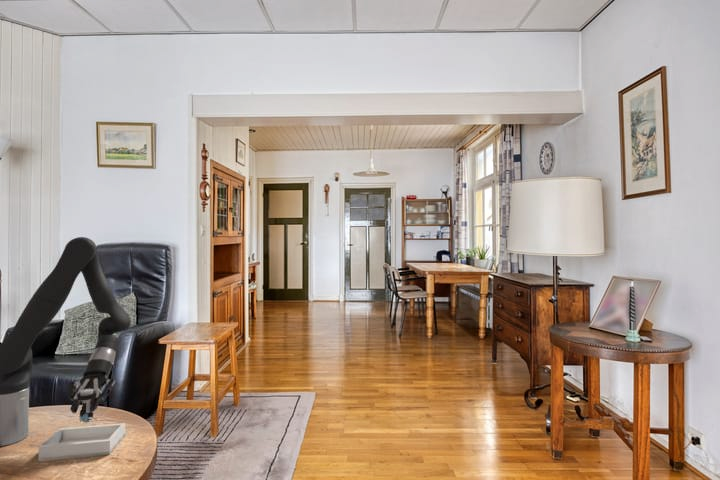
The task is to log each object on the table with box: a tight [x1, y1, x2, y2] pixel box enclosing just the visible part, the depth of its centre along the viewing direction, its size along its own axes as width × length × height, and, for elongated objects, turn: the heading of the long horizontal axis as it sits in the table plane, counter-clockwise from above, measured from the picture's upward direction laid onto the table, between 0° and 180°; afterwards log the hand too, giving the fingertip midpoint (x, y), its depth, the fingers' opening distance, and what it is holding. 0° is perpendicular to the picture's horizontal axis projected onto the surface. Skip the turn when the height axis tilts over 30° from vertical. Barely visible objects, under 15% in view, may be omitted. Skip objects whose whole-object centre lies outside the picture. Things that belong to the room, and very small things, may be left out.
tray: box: [37, 422, 126, 462], centre depth 123 cm, size 20×12×4 cm, turn 102°
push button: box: [76, 388, 96, 424], centre depth 124 cm, size 7×5×10 cm
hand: (82, 411), depth 122 cm, fingers closed on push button, 4 cm apart
